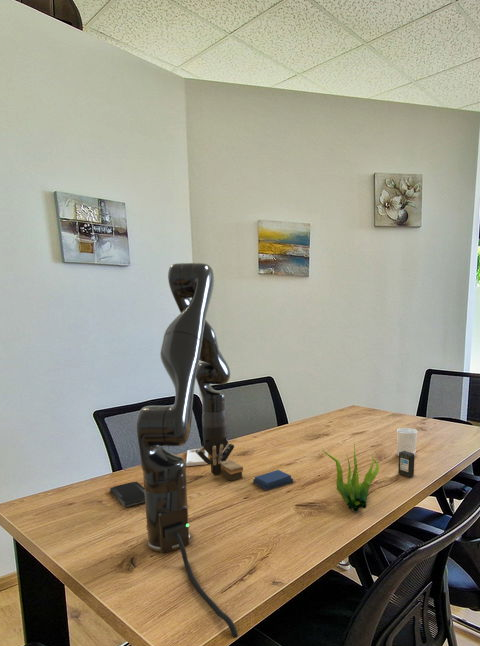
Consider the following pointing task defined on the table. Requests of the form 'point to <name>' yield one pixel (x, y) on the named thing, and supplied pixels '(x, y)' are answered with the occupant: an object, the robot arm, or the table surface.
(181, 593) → the table surface
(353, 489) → the decorative plant
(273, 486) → the folded cloth
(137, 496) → the phone
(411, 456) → the ink cartridge
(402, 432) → the white cup
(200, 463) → the phone case
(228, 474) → the tan two-tone block
